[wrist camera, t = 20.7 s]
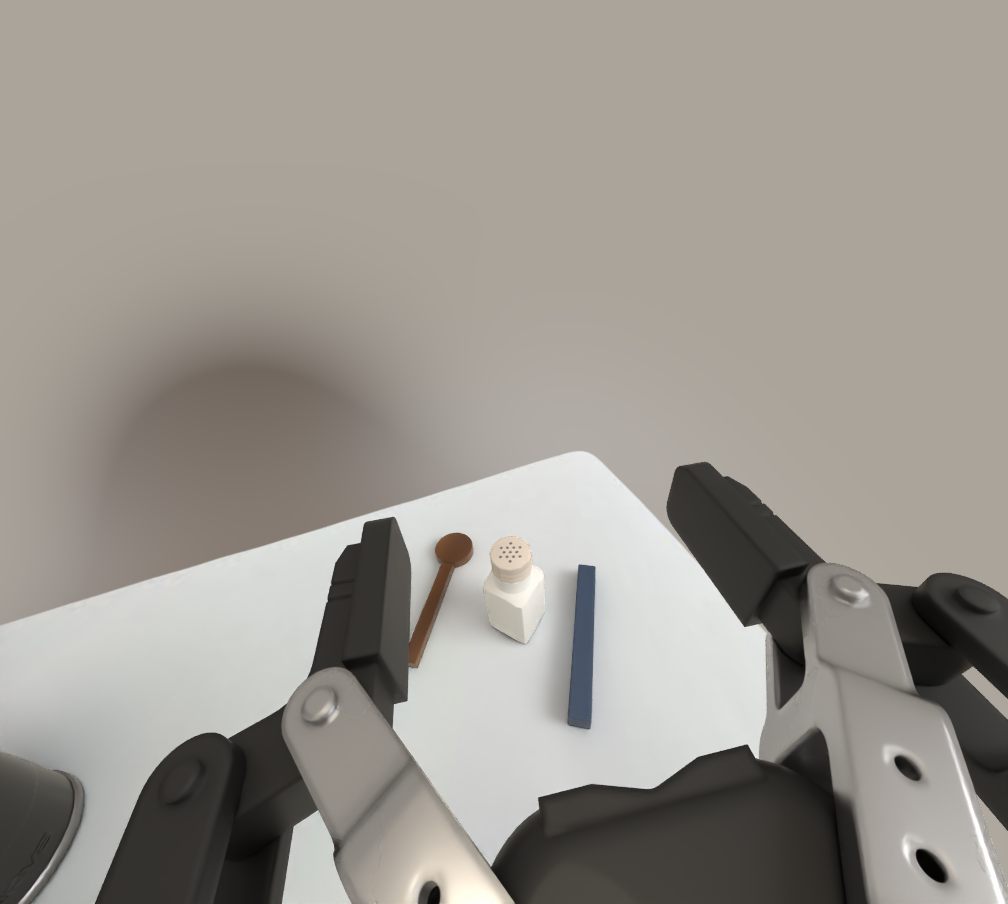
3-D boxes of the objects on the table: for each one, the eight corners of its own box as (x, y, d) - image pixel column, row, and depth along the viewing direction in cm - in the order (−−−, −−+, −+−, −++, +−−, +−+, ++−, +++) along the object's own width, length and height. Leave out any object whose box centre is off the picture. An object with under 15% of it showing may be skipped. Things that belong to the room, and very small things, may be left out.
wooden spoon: (389, 662, 32) (386, 657, 32) (443, 536, 43) (442, 530, 42) (432, 671, 31) (430, 666, 31) (477, 540, 42) (476, 534, 42)
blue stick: (567, 725, 28) (568, 716, 27) (578, 573, 38) (578, 563, 37) (590, 729, 27) (591, 721, 26) (594, 575, 37) (595, 565, 36)
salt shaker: (547, 610, 35) (546, 543, 29) (526, 649, 32) (519, 583, 26) (510, 591, 37) (502, 525, 31) (487, 626, 34) (473, 560, 28)
